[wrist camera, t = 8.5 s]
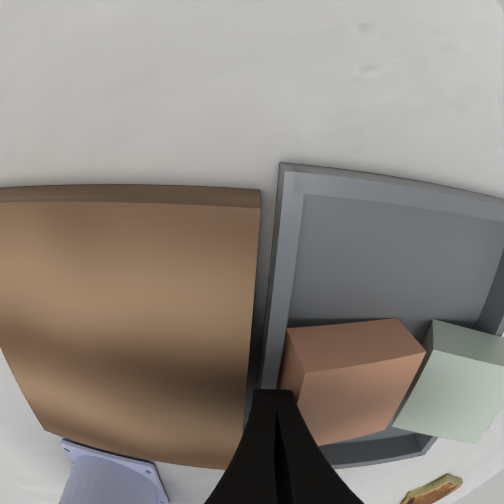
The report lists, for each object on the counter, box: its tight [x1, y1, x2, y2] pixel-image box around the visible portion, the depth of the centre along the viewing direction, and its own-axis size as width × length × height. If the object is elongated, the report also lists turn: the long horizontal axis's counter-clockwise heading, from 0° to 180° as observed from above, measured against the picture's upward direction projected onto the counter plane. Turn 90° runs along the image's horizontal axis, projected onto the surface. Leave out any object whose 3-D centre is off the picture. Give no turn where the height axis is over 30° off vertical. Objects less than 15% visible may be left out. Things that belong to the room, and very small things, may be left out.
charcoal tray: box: [257, 162, 504, 469], centre depth 13 cm, size 16×11×2 cm
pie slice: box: [401, 474, 463, 504], centre depth 23 cm, size 11×8×2 cm
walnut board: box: [0, 184, 261, 470], centre depth 12 cm, size 14×12×2 cm
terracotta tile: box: [276, 318, 426, 446], centre depth 12 cm, size 5×5×2 cm
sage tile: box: [392, 319, 504, 444], centre depth 11 cm, size 5×5×2 cm
